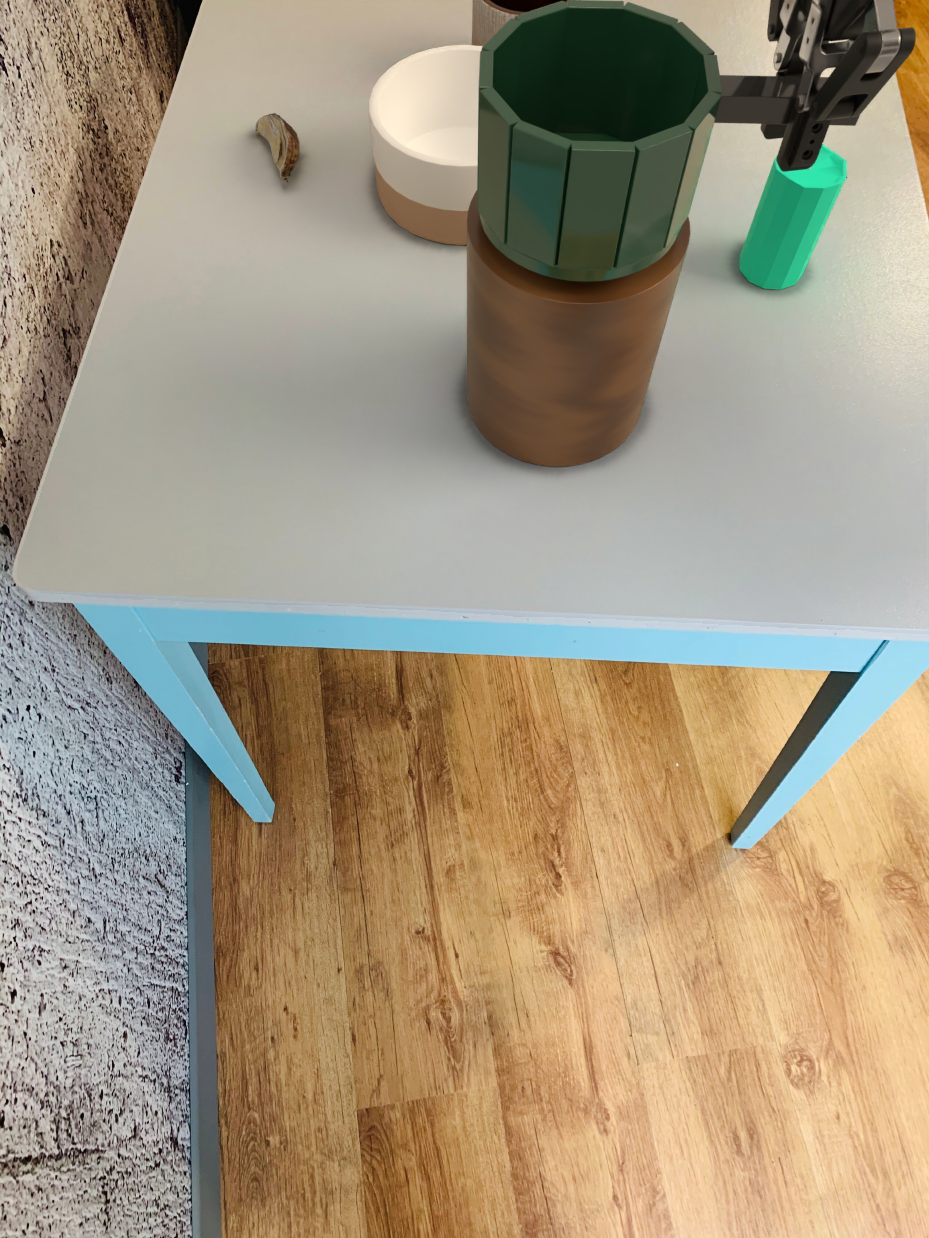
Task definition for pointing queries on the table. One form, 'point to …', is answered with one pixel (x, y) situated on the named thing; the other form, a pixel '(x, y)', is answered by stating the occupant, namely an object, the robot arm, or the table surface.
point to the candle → (791, 220)
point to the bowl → (428, 140)
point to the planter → (499, 15)
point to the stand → (561, 352)
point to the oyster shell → (280, 142)
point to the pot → (602, 134)
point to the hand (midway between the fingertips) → (785, 149)
